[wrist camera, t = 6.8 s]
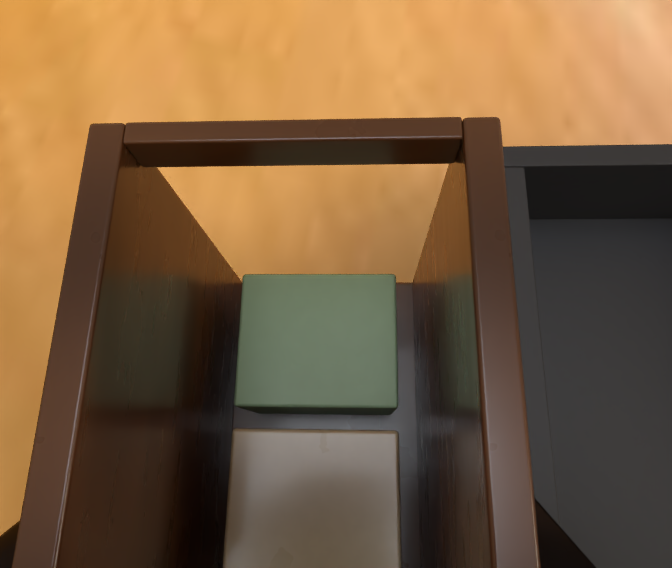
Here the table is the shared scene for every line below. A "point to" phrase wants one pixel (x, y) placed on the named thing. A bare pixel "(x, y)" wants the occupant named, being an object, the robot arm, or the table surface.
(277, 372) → the sage block
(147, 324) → the brown wooden holder
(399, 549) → the birch block
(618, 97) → the table surface
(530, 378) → the bin
